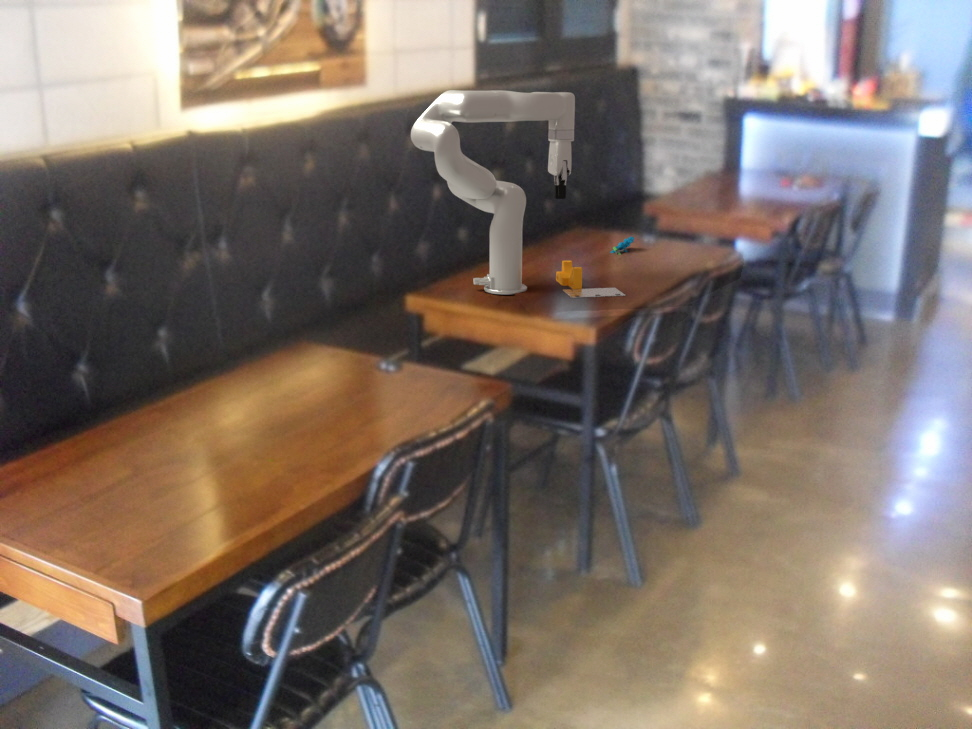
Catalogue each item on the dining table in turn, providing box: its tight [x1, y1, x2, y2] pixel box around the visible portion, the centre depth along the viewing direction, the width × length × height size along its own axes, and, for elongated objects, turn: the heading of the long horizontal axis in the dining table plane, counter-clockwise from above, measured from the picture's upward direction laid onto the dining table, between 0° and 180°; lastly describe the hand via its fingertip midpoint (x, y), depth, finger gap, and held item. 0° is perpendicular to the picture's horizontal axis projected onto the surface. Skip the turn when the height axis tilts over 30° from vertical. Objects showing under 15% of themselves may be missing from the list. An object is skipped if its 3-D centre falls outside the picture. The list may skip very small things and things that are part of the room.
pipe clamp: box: [555, 260, 583, 289], centre depth 314 cm, size 12×4×6 cm, turn 13°
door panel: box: [562, 287, 626, 299], centre depth 304 cm, size 16×10×1 cm, turn 101°
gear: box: [609, 235, 635, 256], centre depth 354 cm, size 11×6×10 cm
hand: (559, 198), depth 313 cm, fingers closed
